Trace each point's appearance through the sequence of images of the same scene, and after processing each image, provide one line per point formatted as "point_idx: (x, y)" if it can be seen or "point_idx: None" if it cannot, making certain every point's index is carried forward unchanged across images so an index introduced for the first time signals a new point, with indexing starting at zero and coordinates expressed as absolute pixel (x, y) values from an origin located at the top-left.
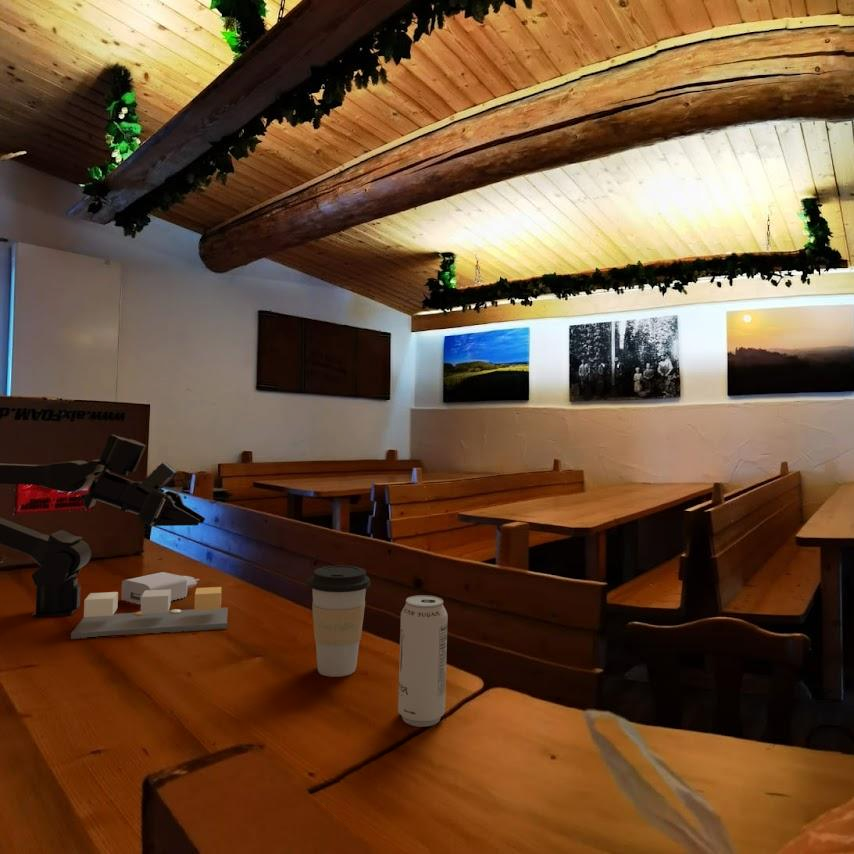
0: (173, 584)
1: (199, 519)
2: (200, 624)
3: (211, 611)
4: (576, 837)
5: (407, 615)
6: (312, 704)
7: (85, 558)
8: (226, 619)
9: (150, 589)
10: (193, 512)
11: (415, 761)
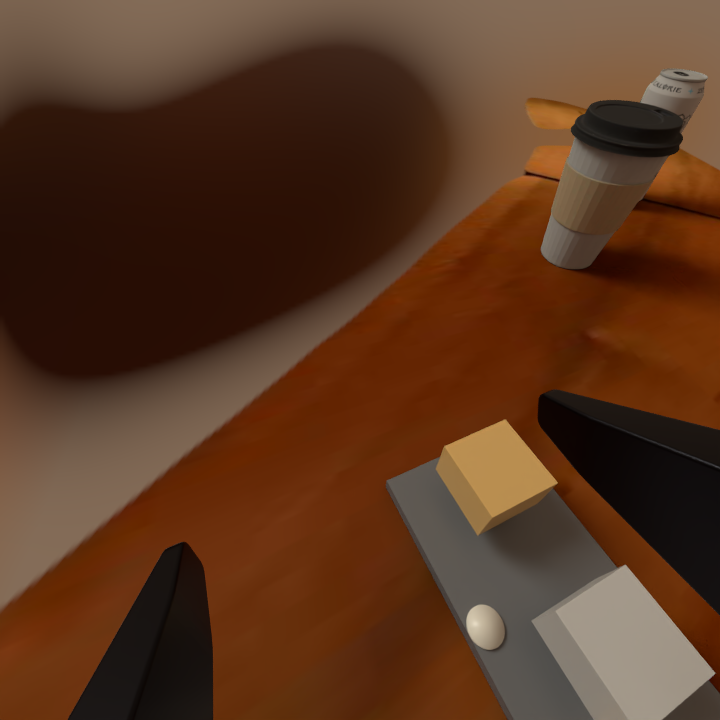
0: None
1: (194, 596)
2: None
3: (437, 507)
4: (685, 154)
5: (703, 93)
6: (662, 257)
7: None
8: None
9: None
10: (152, 679)
11: (682, 197)
